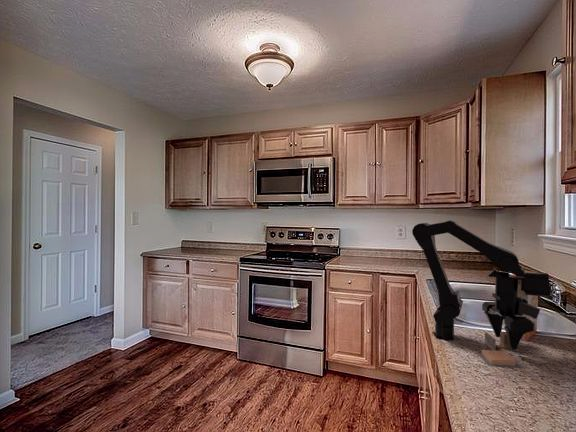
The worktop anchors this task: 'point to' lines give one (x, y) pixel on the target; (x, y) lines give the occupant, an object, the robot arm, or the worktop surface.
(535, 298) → the cracker box
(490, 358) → the glazed tile
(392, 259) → the worktop surface
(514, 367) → the slate mat
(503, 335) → the walnut turner
